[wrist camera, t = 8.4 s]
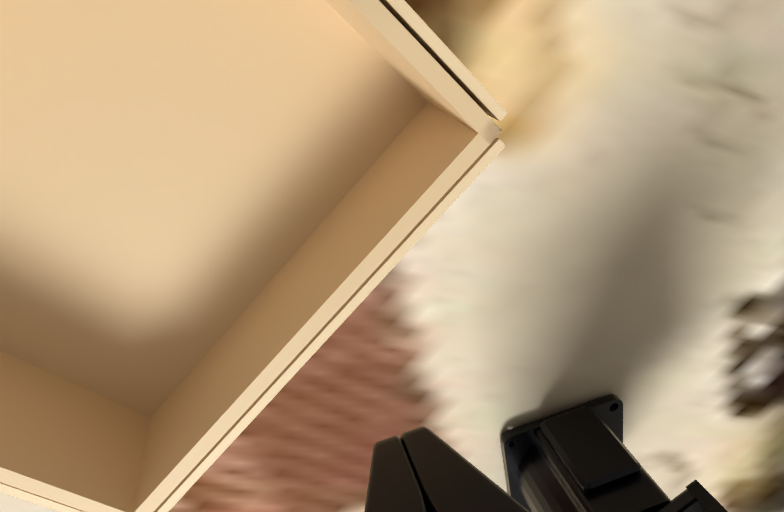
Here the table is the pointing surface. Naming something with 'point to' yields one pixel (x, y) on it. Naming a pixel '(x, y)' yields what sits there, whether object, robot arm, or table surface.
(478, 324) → the table surface
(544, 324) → the table surface
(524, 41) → the table surface
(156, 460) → the carton
